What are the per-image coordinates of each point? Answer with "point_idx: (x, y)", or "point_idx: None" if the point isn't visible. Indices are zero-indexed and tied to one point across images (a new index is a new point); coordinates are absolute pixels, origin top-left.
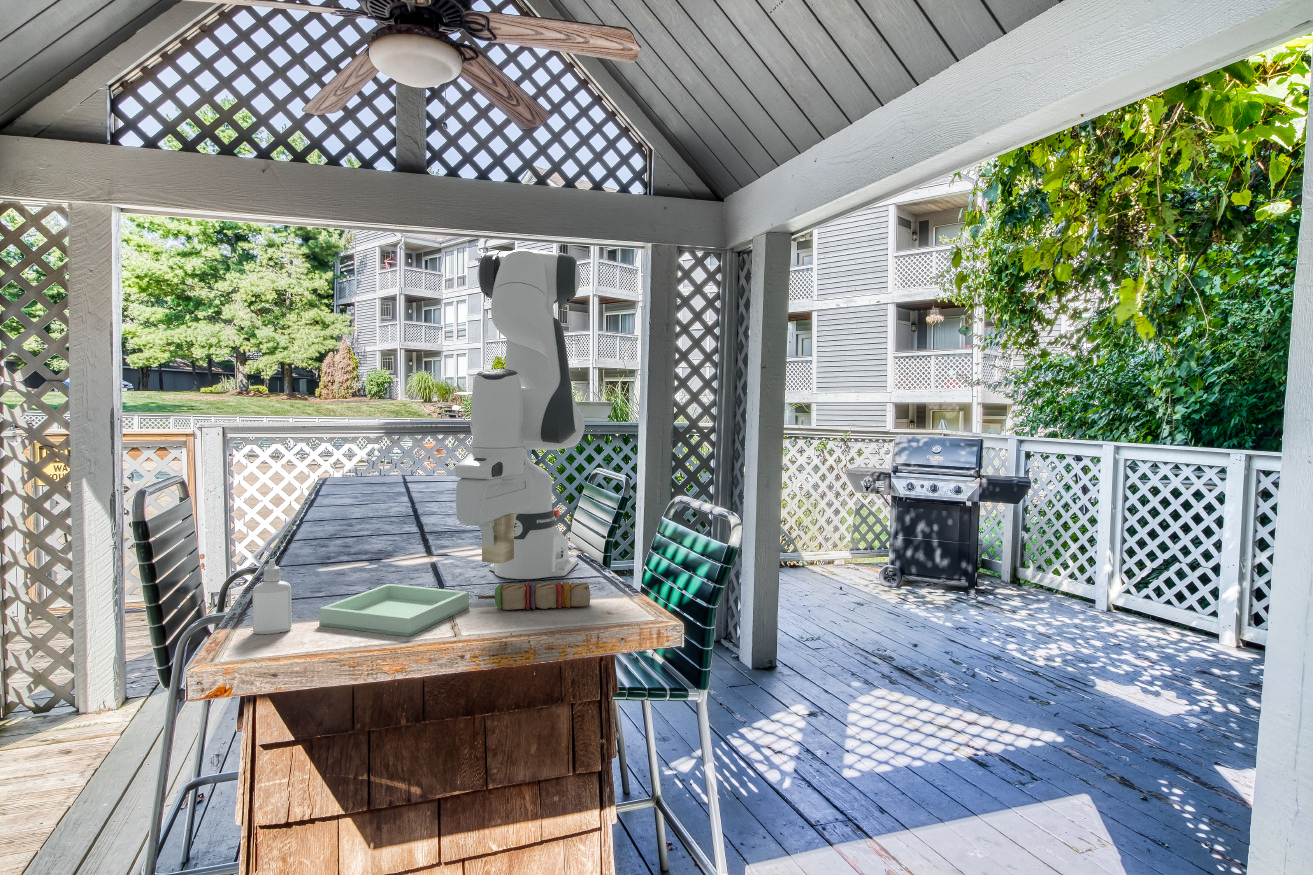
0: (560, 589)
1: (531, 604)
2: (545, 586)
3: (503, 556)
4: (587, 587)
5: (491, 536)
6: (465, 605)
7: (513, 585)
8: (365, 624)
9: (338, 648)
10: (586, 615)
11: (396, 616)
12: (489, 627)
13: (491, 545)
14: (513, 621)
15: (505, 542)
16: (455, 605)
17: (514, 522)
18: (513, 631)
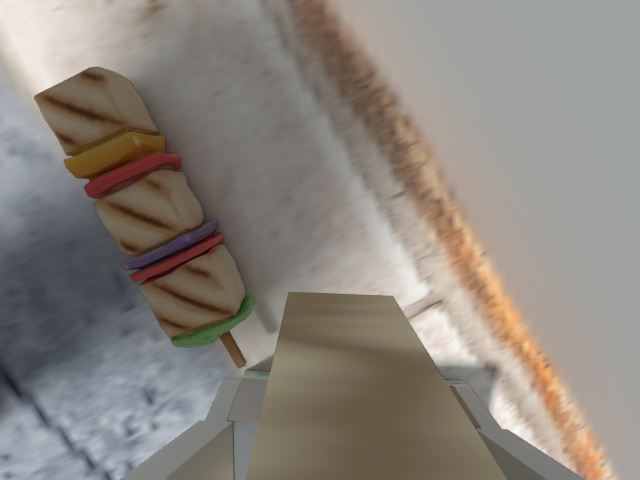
0: (152, 156)
1: (214, 229)
2: (150, 212)
3: (393, 308)
4: (93, 74)
5: (498, 431)
6: (258, 376)
7: (190, 301)
8: None
9: (545, 451)
10: (200, 68)
11: None
12: (366, 263)
13: (467, 386)
14: (309, 231)
15: (389, 345)
16: None
17: (152, 456)
18: (380, 198)
